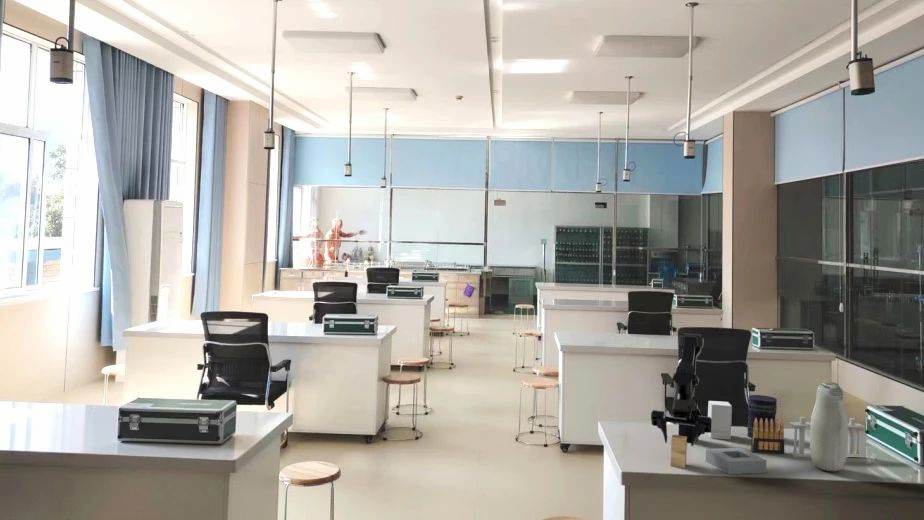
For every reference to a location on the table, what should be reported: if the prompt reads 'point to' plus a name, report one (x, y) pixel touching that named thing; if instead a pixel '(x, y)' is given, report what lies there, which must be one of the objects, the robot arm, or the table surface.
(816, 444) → the white bottle
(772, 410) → the storage jar
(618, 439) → the table surface
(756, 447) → the ammunition clip
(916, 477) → the table surface
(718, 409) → the supplement box
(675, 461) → the peg
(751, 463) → the socket
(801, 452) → the test tube rack
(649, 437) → the table surface
